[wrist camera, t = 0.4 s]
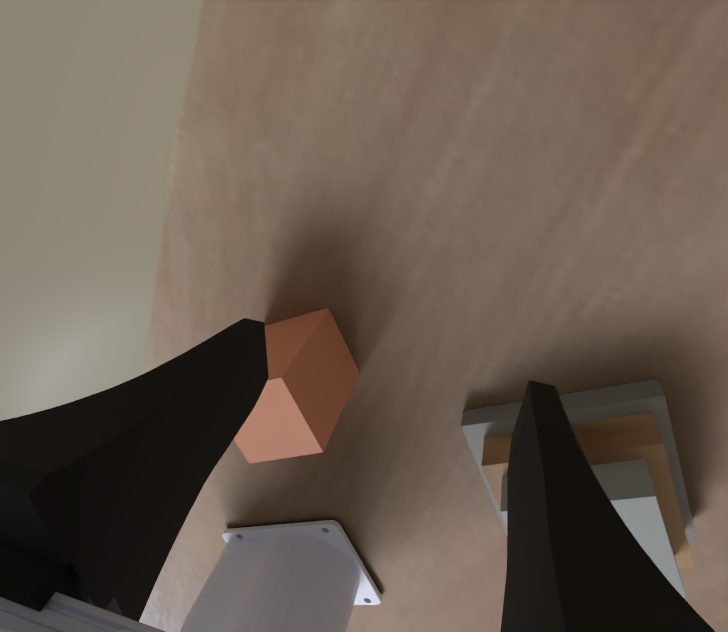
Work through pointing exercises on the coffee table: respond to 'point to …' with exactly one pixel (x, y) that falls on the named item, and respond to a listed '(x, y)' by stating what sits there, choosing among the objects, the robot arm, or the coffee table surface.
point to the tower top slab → (633, 511)
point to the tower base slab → (585, 409)
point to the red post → (299, 389)
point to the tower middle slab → (609, 446)
